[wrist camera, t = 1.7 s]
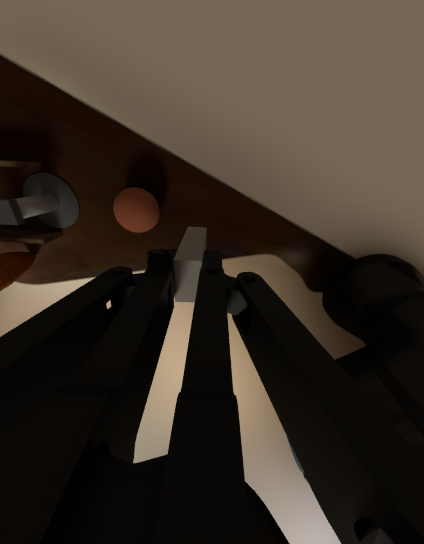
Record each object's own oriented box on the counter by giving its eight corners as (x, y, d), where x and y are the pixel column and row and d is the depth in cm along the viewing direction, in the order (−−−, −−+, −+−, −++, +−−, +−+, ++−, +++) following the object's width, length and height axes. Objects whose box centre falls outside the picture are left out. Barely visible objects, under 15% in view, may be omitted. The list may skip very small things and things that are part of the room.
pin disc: (90, 207, 31) (89, 207, 31) (60, 237, 33) (59, 237, 33) (42, 159, 28) (41, 159, 28) (13, 196, 30) (12, 196, 30)
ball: (171, 210, 31) (162, 219, 25) (144, 233, 33) (130, 246, 27) (143, 176, 29) (127, 178, 23) (116, 202, 30) (94, 210, 25)
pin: (58, 192, 30) (8, 200, 23) (64, 211, 31) (18, 225, 24) (39, 191, 30) (-17, 199, 23) (46, 210, 31) (-6, 224, 24)
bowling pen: (40, 162, 28) (-1, 161, 23) (62, 235, 33) (33, 248, 28) (-31, 158, 28) (-89, 156, 23) (2, 232, 33) (-39, 245, 28)
